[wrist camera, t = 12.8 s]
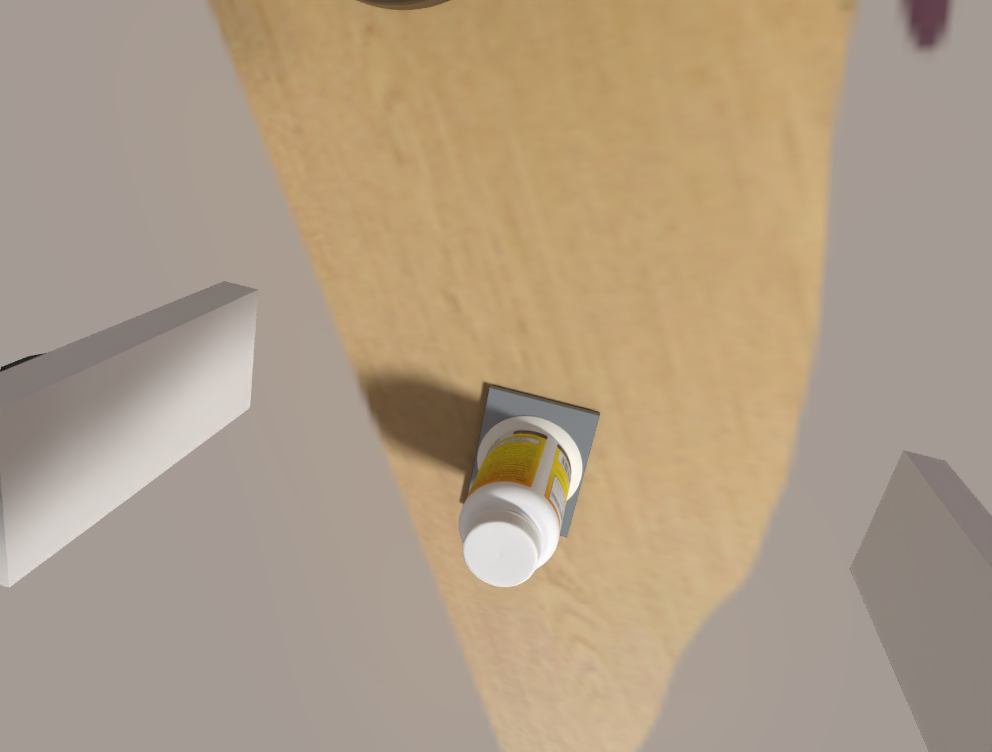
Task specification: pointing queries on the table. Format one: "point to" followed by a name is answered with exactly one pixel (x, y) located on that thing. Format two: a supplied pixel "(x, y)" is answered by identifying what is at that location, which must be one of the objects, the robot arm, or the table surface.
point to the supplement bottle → (515, 507)
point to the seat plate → (543, 415)
